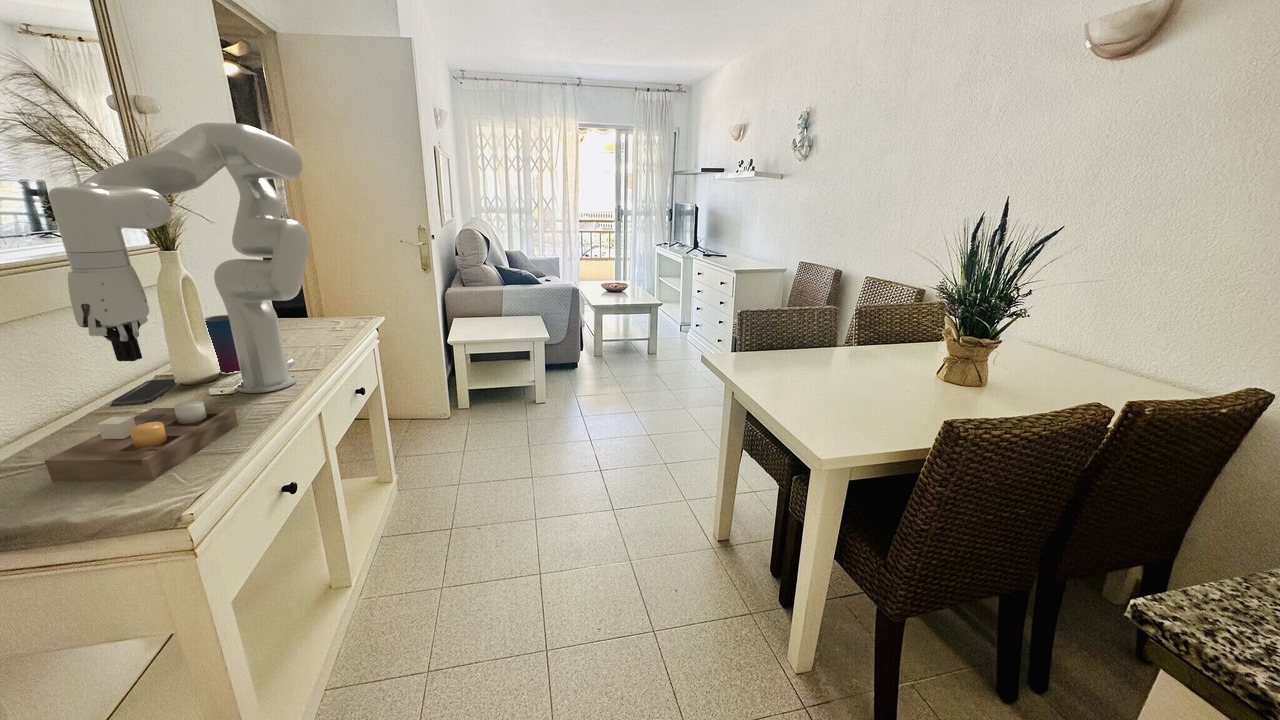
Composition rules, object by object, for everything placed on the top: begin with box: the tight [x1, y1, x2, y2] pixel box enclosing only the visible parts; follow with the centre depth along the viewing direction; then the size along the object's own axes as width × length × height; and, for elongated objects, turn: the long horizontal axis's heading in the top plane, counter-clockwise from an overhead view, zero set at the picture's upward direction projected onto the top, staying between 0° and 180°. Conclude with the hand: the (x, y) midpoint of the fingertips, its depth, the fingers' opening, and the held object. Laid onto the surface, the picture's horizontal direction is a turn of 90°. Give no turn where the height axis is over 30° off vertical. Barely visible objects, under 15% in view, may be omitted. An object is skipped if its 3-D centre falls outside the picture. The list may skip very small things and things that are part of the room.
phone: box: [111, 378, 178, 406], centre depth 124 cm, size 8×1×15 cm
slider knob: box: [97, 416, 136, 439], centre depth 94 cm, size 3×4×3 cm
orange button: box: [129, 422, 167, 448], centre depth 92 cm, size 4×4×3 cm
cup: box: [204, 314, 241, 373], centre depth 137 cm, size 7×7×15 cm
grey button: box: [173, 400, 207, 424], centre depth 101 cm, size 4×4×3 cm
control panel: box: [44, 407, 239, 483], centre depth 97 cm, size 22×16×4 cm
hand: (130, 359), depth 96 cm, fingers closed
